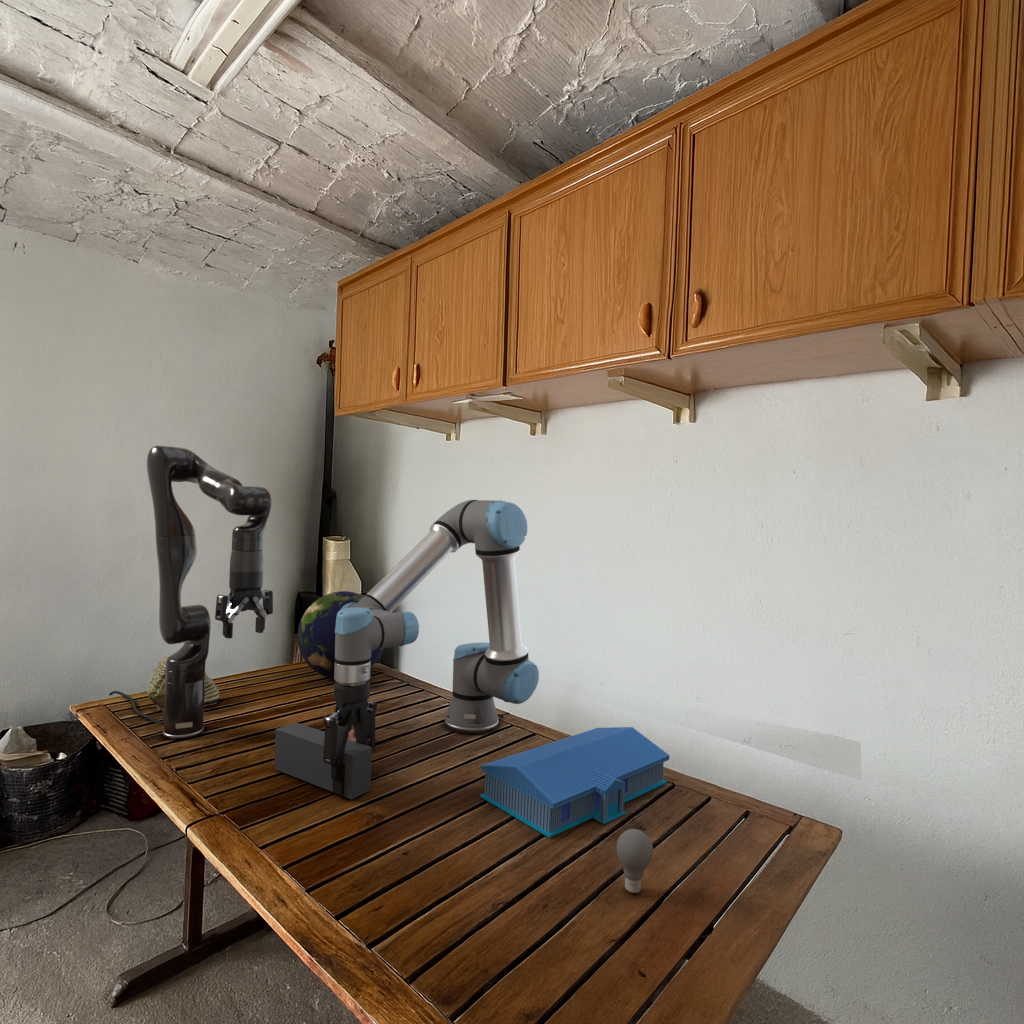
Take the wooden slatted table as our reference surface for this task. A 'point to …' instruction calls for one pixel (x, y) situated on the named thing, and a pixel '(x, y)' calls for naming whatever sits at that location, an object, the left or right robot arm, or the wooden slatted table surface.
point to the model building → (575, 778)
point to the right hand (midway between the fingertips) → (349, 787)
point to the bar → (321, 759)
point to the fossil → (158, 687)
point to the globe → (325, 632)
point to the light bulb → (634, 857)
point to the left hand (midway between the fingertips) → (244, 635)
